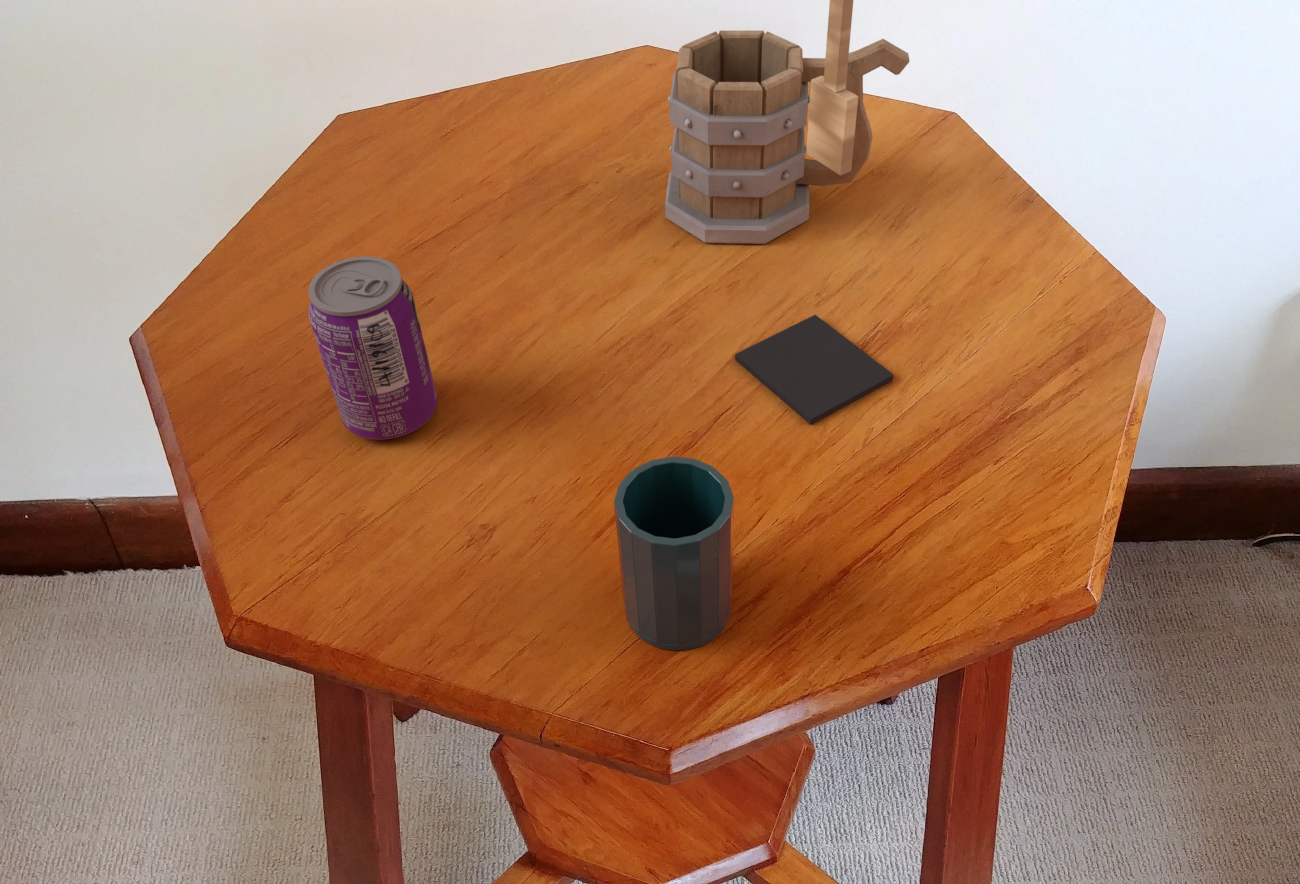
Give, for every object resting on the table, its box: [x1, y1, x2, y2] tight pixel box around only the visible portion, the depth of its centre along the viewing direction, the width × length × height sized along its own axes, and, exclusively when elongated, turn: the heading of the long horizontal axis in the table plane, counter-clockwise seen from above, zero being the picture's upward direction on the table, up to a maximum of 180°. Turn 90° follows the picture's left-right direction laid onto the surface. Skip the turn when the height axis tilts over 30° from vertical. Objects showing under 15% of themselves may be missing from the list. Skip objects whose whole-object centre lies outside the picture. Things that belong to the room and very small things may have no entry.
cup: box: [613, 456, 735, 652], centre depth 66 cm, size 7×7×10 cm
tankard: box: [664, 30, 910, 245], centre depth 95 cm, size 20×13×15 cm, turn 85°
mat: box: [734, 314, 895, 425], centre depth 85 cm, size 9×8×1 cm
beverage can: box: [308, 256, 438, 440], centre depth 79 cm, size 7×7×12 cm
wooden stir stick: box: [805, 0, 858, 176], centre depth 65 cm, size 3×1×20 cm, turn 34°
